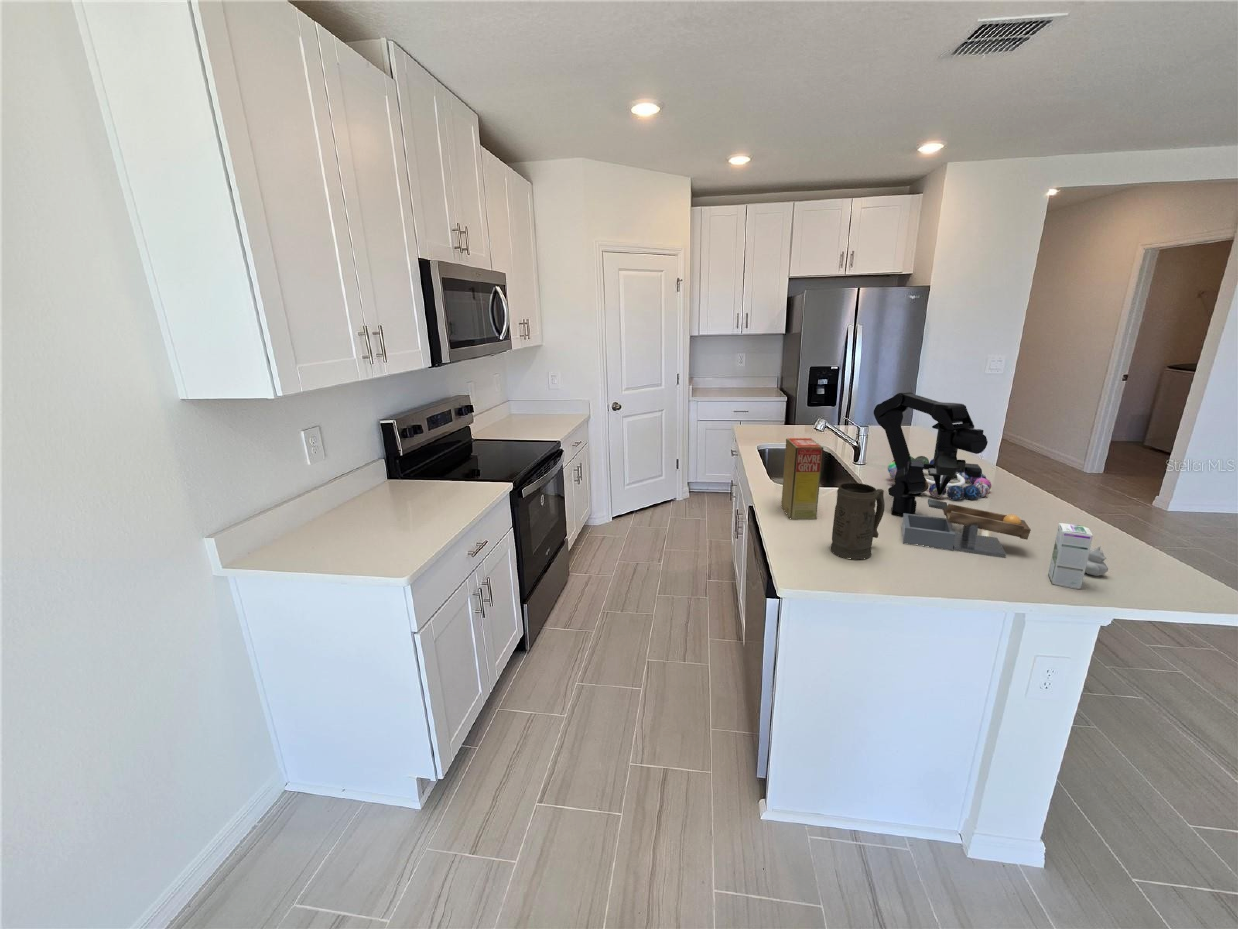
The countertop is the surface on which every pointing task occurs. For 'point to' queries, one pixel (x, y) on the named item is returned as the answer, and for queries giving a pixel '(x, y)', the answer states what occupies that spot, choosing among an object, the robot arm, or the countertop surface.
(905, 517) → the grey open tray
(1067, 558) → the syrup box
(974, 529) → the lever stand
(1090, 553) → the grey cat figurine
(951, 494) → the decorated egg ring holder
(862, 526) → the beer stein
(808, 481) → the food packaging
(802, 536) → the countertop surface
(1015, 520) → the ball
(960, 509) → the tipping lever
